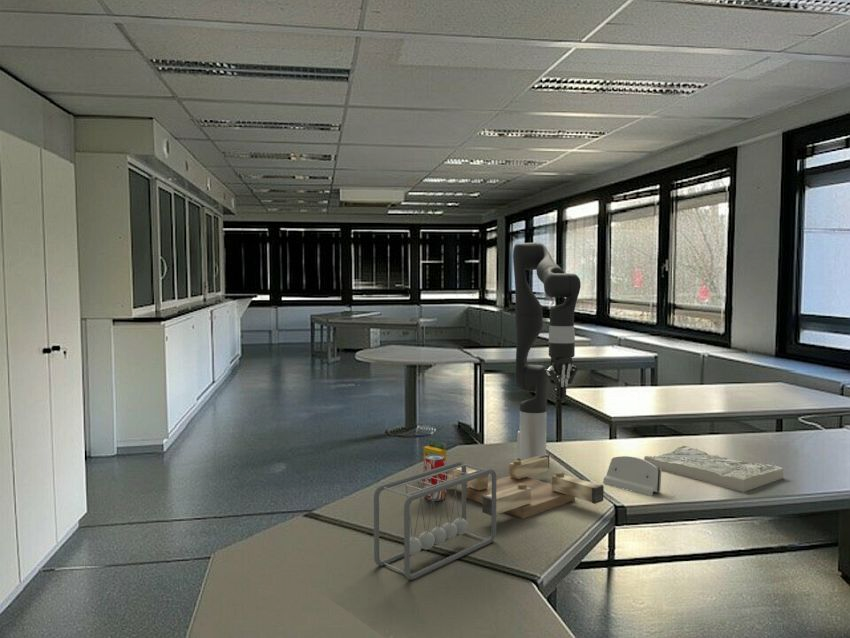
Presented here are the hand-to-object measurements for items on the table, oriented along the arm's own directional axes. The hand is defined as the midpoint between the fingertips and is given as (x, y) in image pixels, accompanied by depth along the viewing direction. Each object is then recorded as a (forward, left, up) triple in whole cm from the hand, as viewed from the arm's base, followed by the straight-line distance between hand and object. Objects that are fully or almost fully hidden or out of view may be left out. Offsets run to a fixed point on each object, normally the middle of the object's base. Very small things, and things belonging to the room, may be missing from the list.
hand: (561, 399), depth 186 cm
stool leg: (+12, -8, -24) cm, 28 cm away
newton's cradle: (+11, -58, -27) cm, 65 cm away
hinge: (+13, +18, -27) cm, 35 cm away
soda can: (-18, -34, -27) cm, 47 cm away
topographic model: (+21, +52, -28) cm, 62 cm away
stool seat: (-7, -15, -27) cm, 32 cm away
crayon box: (-32, -22, -27) cm, 47 cm away
